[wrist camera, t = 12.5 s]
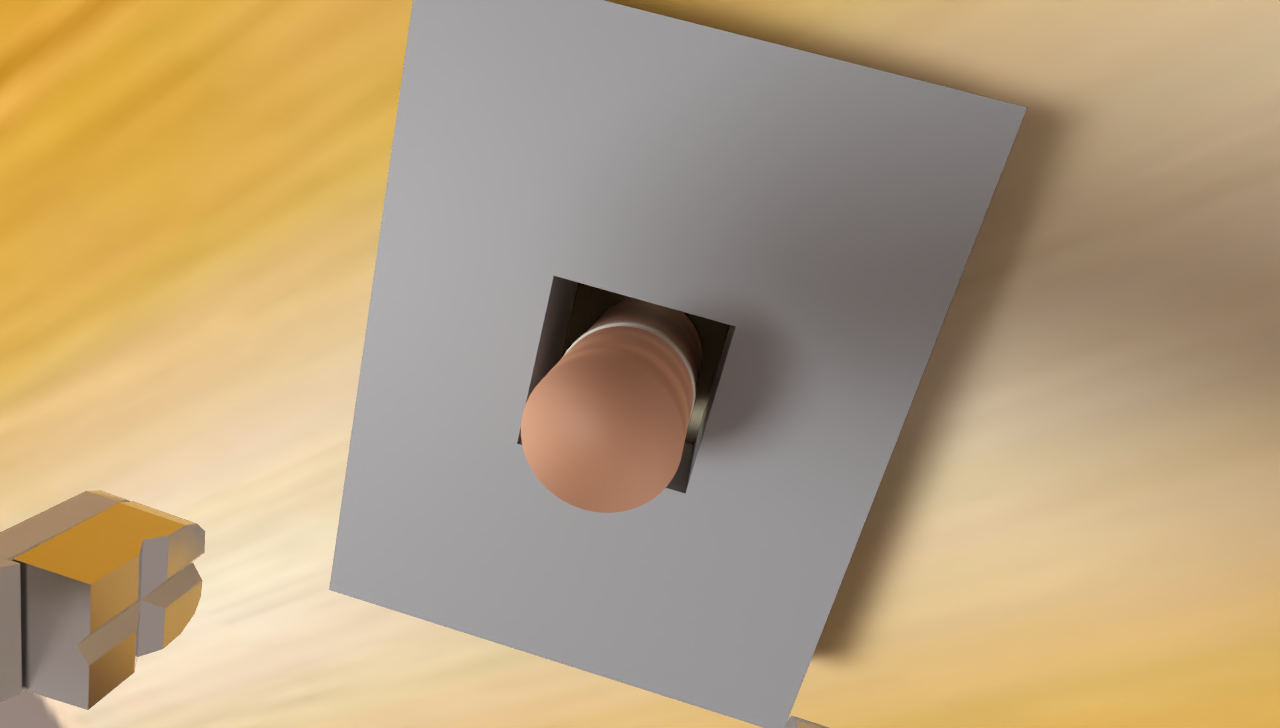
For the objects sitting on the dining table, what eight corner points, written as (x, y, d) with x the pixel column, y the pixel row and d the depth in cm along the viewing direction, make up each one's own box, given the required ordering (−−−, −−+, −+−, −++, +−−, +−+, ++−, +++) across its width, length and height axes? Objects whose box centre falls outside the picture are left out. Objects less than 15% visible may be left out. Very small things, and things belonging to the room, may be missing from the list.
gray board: (977, 117, 21) (1027, 107, 18) (777, 654, 27) (782, 733, 23) (474, -11, 23) (419, -47, 19) (385, 532, 28) (329, 590, 25)
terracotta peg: (717, 314, 24) (705, 383, 17) (685, 423, 25) (660, 534, 18) (601, 281, 24) (537, 335, 17) (575, 391, 26) (504, 487, 18)
